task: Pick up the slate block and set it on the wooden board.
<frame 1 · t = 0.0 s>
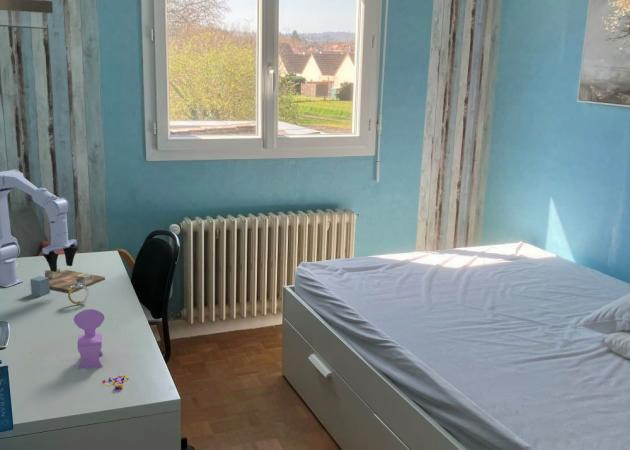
hand: (61, 268, 241), 10 cm above the table, tool pointing down, fingers open, 7 cm apart
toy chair: (91, 362, 190), on the table
slate block: (40, 294, 244), on the table
ring: (79, 305, 234), on the table
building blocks: (116, 384, 178), on the table
wooden board: (68, 282, 258), on the table
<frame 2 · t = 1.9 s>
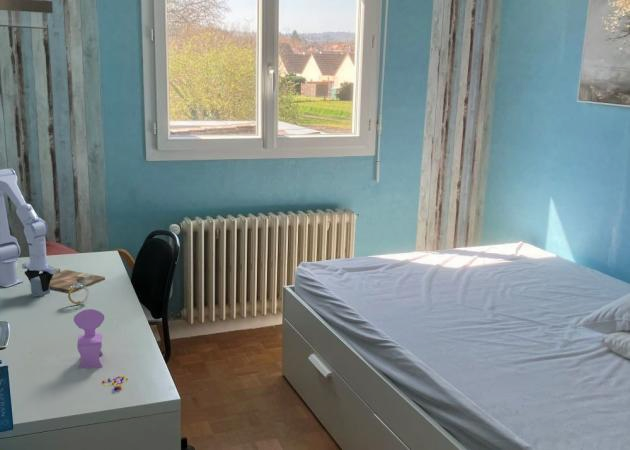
hand: (40, 289, 243), 2 cm above the table, tool pointing down, fingers closed on slate block, 4 cm apart
slate block: (40, 293, 244), on the table, touching gripper
everything else where it was.
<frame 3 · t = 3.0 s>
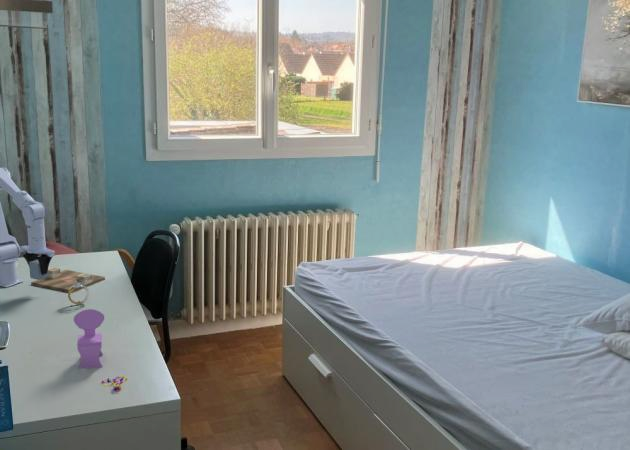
hand: (39, 273, 242), 8 cm above the table, tool pointing down, fingers closed on slate block, 4 cm apart
slate block: (39, 277, 242), point 6 cm above the table, touching gripper
everything else where it was.
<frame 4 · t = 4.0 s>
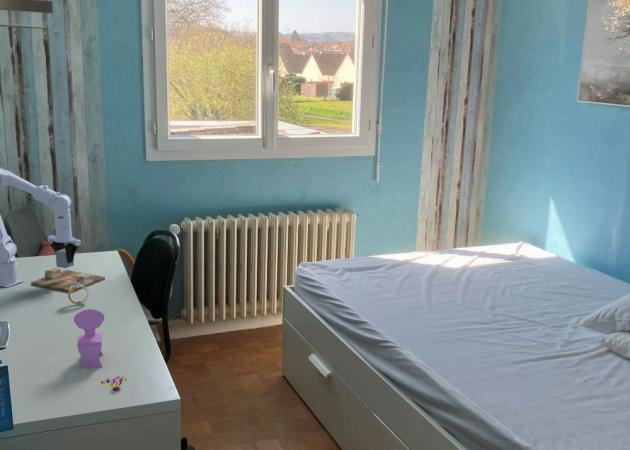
hand: (65, 261, 255), 9 cm above the table, tool pointing down, fingers closed on slate block, 4 cm apart
slate block: (65, 265, 255), point 7 cm above the table, touching gripper
everything else where it was.
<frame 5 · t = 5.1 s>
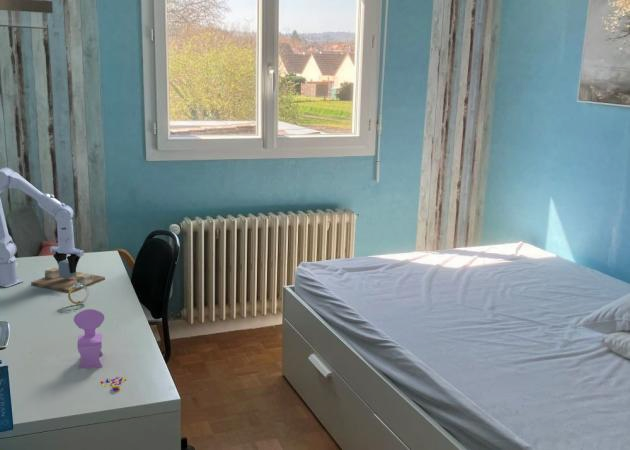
hand: (68, 271, 257), 4 cm above the table, tool pointing down, fingers closed on slate block, 4 cm apart
slate block: (67, 276, 257), point 2 cm above the table, touching gripper
everything else where it was.
when the fingers open (4 cm above the table, at t = 5.4 s): slate block drops 1 cm, resting on wooden board.
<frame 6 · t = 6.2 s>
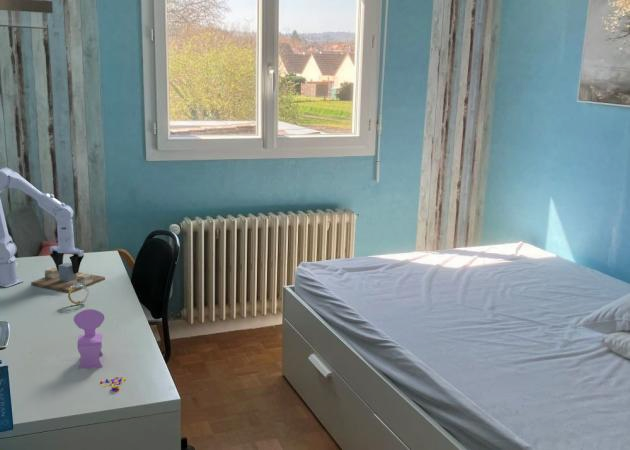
hand: (68, 271, 257), 4 cm above the table, tool pointing down, fingers open, 7 cm apart
slate block: (67, 279, 257), point 1 cm above the table, touching wooden board
everything else where it was.
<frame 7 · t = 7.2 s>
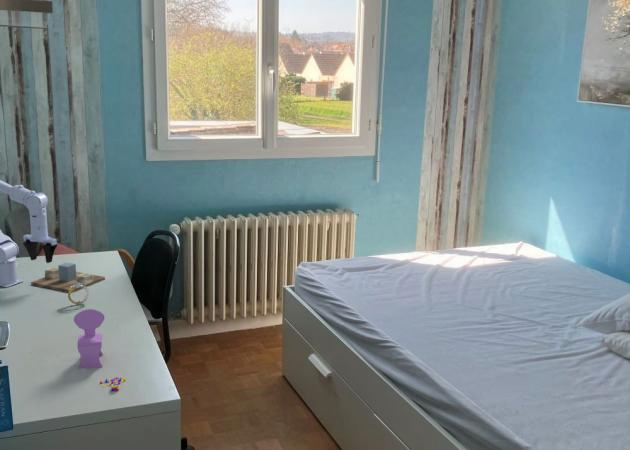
hand: (41, 260, 250), 10 cm above the table, tool pointing down, fingers open, 7 cm apart
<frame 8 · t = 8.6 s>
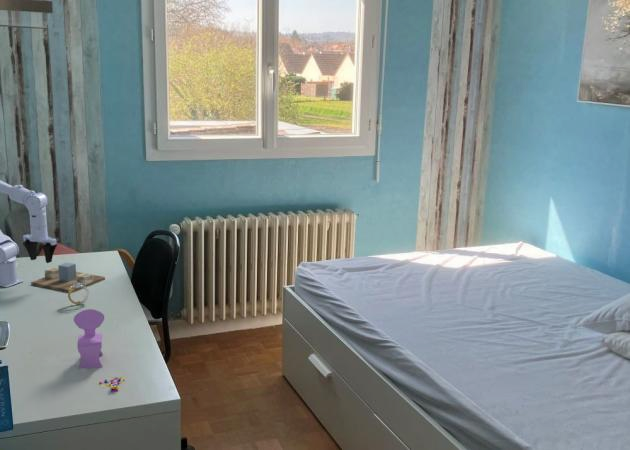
hand: (41, 260, 250), 10 cm above the table, tool pointing down, fingers open, 7 cm apart
at the end: slate block 0.3 cm off-centre on the wooden board, point 1.1 cm above the wooden board's base; slate block tilted 0°; the gripper is holding nothing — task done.
